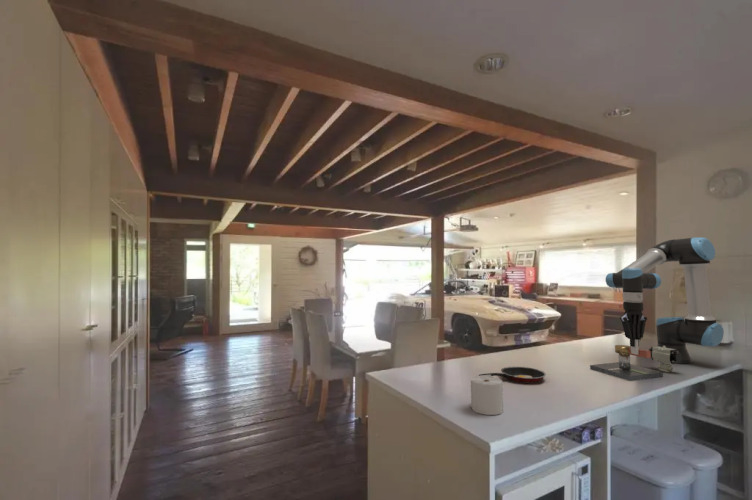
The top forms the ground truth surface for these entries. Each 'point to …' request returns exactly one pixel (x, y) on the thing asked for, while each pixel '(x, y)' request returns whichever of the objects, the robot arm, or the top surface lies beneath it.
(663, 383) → the top surface
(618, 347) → the scoop with pink handle
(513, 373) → the frying pan
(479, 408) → the toilet tissue
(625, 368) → the grey plate with post
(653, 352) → the pneumatic valve
